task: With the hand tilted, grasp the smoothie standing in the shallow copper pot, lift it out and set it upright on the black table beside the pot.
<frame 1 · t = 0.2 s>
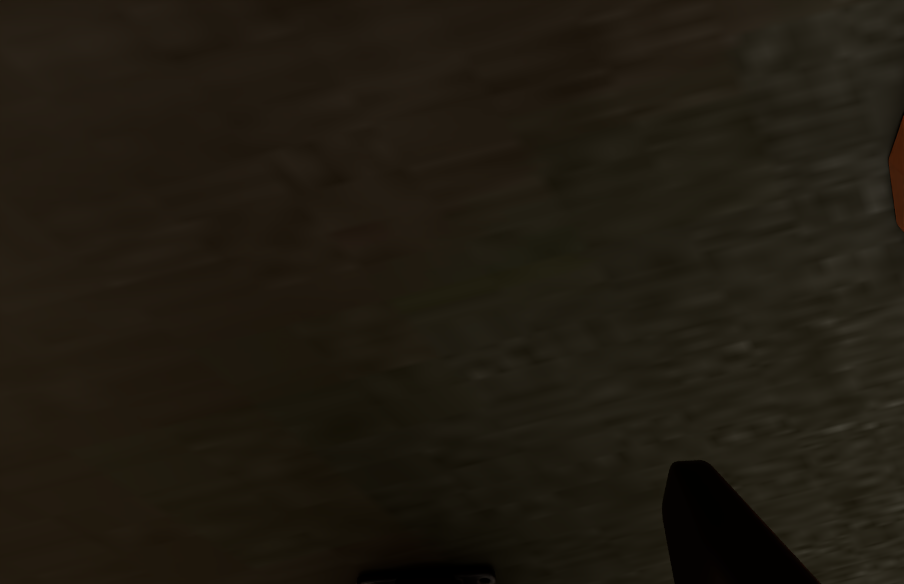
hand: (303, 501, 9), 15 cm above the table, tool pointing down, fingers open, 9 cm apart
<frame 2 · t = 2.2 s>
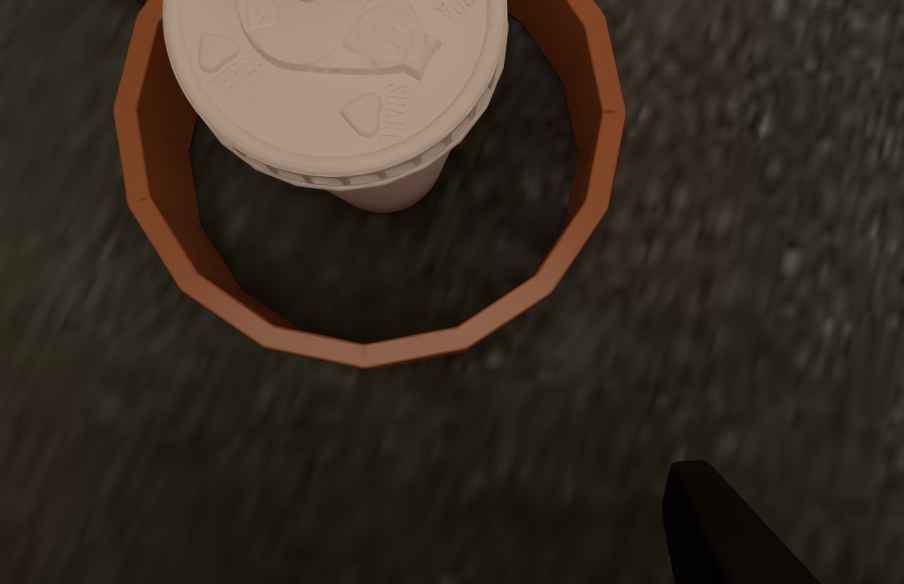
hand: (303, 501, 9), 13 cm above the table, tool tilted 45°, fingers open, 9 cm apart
copper pot: (383, 153, 24), on the table
smoothie: (384, 155, 24), resting in copper pot
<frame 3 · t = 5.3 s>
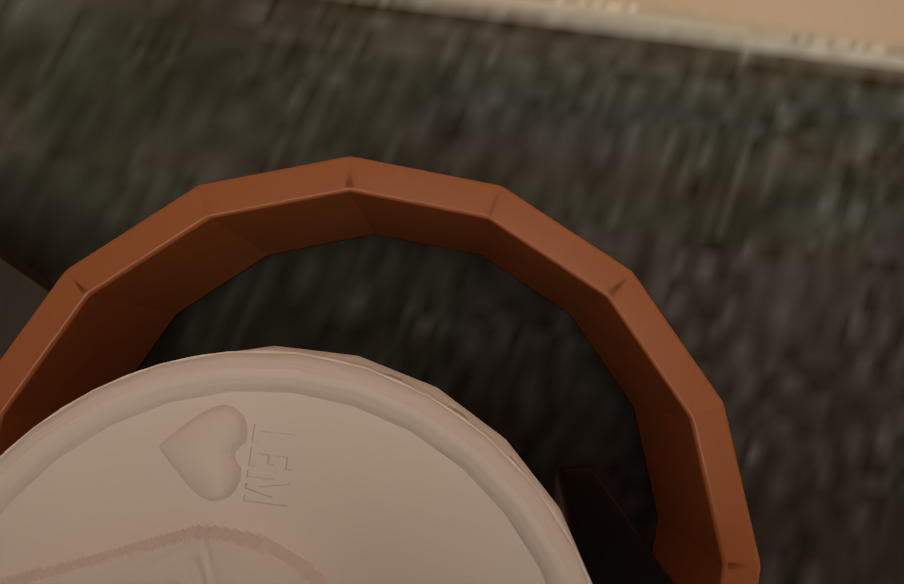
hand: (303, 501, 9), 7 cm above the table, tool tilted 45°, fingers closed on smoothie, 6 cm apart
copper pot: (371, 516, 16), on the table
smoothie: (370, 514, 16), resting in copper pot, touching gripper
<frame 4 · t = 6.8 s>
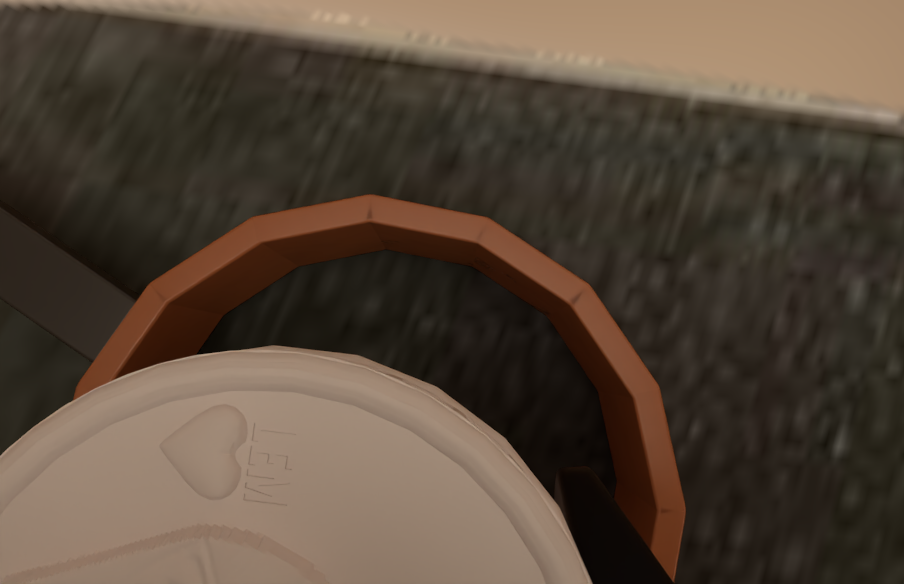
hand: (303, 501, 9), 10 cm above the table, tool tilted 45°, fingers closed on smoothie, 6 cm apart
copper pot: (383, 480, 20), on the table
smoothie: (371, 513, 16), point 3 cm above the table, touching gripper
when the fingers open (7 cm above the table, at t = 11.6 s): smoothie stays where it is, on the table.
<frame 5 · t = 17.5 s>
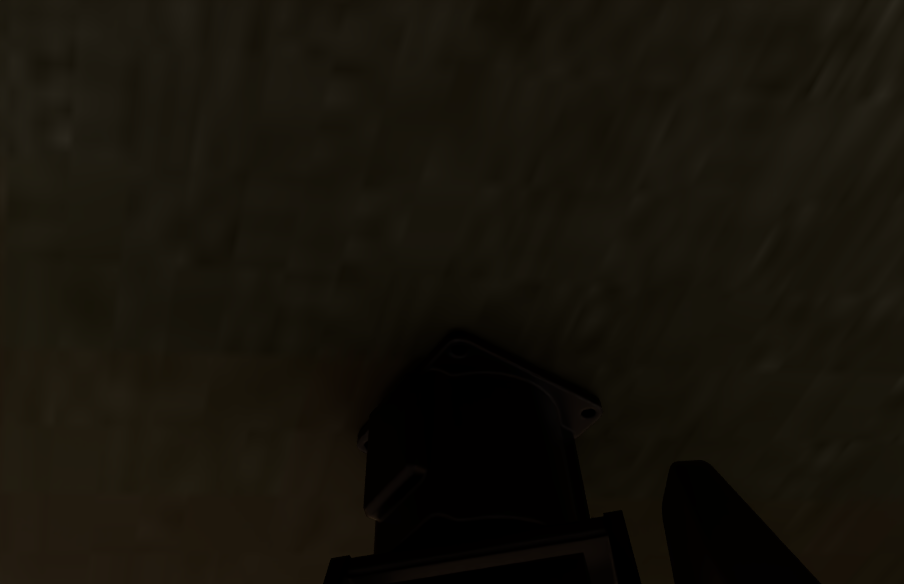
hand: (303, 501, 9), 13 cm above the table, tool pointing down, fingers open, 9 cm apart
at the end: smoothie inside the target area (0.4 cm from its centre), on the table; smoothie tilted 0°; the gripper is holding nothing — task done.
